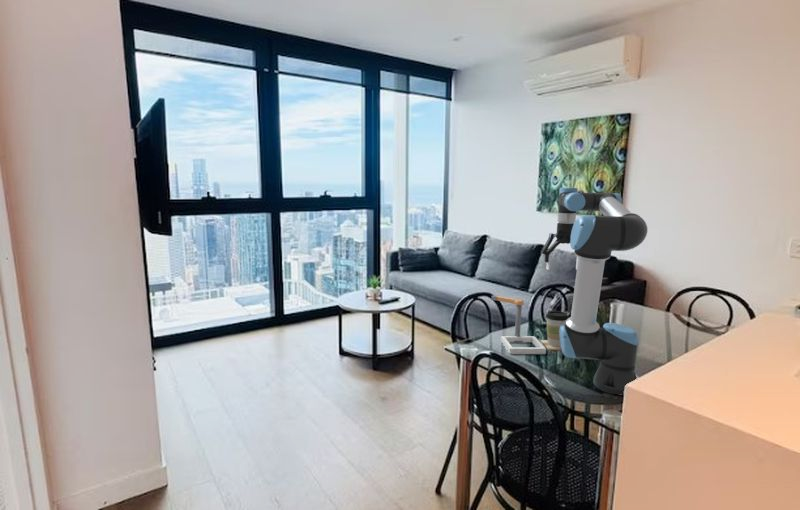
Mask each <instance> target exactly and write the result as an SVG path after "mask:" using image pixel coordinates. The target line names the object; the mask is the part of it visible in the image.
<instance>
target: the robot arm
mask: <svg viewBox="0 0 800 510" xmlns="http://www.w3.org/2000/svg"><path fill="white" fill-rule="evenodd" d="M557 210H558V211H557V222H558V223H557V224H556V233H552V232H550V233H549V234H548V238H547V240H546V242H545V243H544V245H543V247H542V248H541V251H540V253H541V254H543V255H544V262H545V263H546V266H545V268H546V270H548V271H550V270H551V259H552V255H550V254H551V253H553V252H554V250H555V249H556V248H557V247H558V246H559V245H560V244H564V245H565V244H567V245H570V248H571V249H572V250H574V255H575V256H576V261H575V262H576V263H575V270H576V275H575V281H574V290H573V295H572V296H573V297H572V305H571V313H570V317H568V319H567V320H566V324H565V326H564V325H563V326H560V330H559V334H560V344H561V349H562V351H561V352H562V354H563V356H565V357H566V358H571V359H583V360H584V359H586V360H597V361H598V360H599V366H598V368H597V370H596V371H595V374H594V376H593V385H594V386H595V388H597V389H598V390H600V391H602V392H605V393H608V394H610V395H614V394H622V395H623V391H624V386H625V385H626V384H627V383H629V382H631V381H633V380H635V379H636V378H637V379H638V377H637V373H636V363H637V354H638V345H639V339H638V338H639V334H638V332H637V331H636V330H634V329H633V328H631V327H628V326H626V325H623V324H618V323H614V322H605V323H604V324H603V325H602V327H600V324H599V323H598V322H597V315H598V310H599V309H598V308H599V304H600V303H599V302H600V297H601V288H602V283H603V278H604V277H603V276H604V270H605V264H606V261H607V260H609V259H610V258H611V256H612V252H614V251H615V252H620V251H621V252H626V251H629V250H633V249H635V248H637V247H639V245H641V244H642V243H643V242H644V240H645V239H646V237H647V235H648V226H647V223H646V221H645V219H643V217H641V216H640V215H639V214H637V213H634V212H633V213H632V212H631V211H630V210H629V209H628V208H626V206H625V205H624V204H623V199H622V195H621V194H620V193H616V192H615V193H614V192H579V191H578V187H560V188H559V194H558V209H557ZM577 212H600V213H601V214H602V215H593V214H591V215H581V216H579V217H577ZM555 238H556V239H555ZM554 239H555V241H554V242H553V240H554ZM552 242H553V243H552ZM550 245H551V246H550Z"/></svg>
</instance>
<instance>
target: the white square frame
mask: <svg viewBox="0 0 800 510" xmlns="http://www.w3.org/2000/svg"><path fill="white" fill-rule="evenodd" d="M522 307H523V305H515V308H516V309H515V324H514V326H515V328H514V335H502V336H500V342H501V344H502V343H503V344H502V345H503V347H504V346H505V347H504V348H505V349H506V351H507V350H508V351H507V353H508V354H509V353H510V354H509V355H547V348H546V347H545V346H544V345H543V344H542V343H541V342H540V340H539V339H537V337H536V336H531V335H530V336H529V335H527V336H526V335H523V336H522V335H521V327H522V325H521V324H522V309H523V308H522ZM510 343H532V344H533V346H534V347H531V346H530V347H527V346H526V347H524V346H523V347H522V346H521V347H517V346H515V347H513V346H512V345H511V344H510Z"/></svg>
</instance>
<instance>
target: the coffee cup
mask: <svg viewBox="0 0 800 510" xmlns="http://www.w3.org/2000/svg"><path fill="white" fill-rule="evenodd" d="M545 318H546V334H547V336H546V337H547V340H548V345H550V346H553V347H561V344H560V334H559V330H560V326H563V325H564V326H565V324H566V320H567V319H568V318H569V316H568V314H567V313H566V312H565V311H561V310H560V311H559V310H550V311H547V313H546V314H545Z"/></svg>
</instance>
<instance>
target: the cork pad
mask: <svg viewBox="0 0 800 510" xmlns="http://www.w3.org/2000/svg"><path fill="white" fill-rule="evenodd" d="M539 342H540V343H541V344H542V345H543V346H544V347H545V348H546V350H548V351H550V352H555V351H558V352H560V351H561V352H562V349H561V347H553V346H550V345H548V339H540V340H539Z"/></svg>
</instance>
